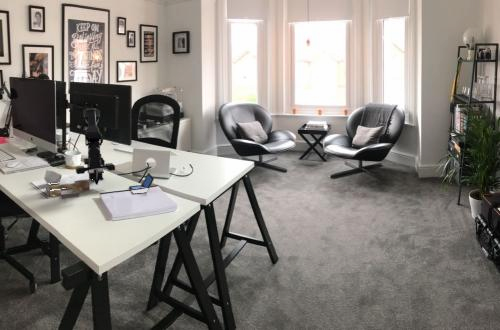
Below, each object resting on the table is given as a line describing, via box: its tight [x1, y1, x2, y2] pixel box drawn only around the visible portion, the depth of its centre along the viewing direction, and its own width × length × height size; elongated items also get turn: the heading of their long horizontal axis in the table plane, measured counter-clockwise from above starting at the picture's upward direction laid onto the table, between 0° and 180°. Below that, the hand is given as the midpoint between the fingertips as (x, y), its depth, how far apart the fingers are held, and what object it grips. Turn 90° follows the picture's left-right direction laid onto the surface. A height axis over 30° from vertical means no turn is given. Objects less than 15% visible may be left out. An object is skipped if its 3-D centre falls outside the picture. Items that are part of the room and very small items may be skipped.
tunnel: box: [45, 182, 83, 198], centre depth 216 cm, size 16×11×3 cm
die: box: [43, 168, 63, 184], centre depth 230 cm, size 8×9×10 cm
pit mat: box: [60, 192, 80, 199], centre depth 210 cm, size 8×6×1 cm
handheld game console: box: [128, 172, 155, 190], centre depth 221 cm, size 12×11×7 cm
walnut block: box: [74, 179, 91, 192], centre depth 220 cm, size 6×6×4 cm
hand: (96, 184), depth 224 cm, fingers closed
